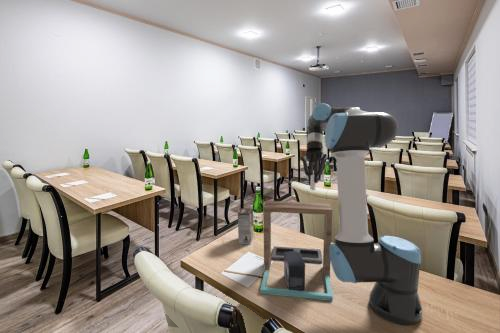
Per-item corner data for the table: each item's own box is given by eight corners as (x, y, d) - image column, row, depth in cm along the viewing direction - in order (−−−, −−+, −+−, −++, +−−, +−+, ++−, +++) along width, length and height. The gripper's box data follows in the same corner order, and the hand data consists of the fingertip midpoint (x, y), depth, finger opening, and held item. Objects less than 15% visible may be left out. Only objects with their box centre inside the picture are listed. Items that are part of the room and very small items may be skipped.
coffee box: (242, 236, 144) (241, 207, 141) (254, 237, 143) (253, 208, 140) (238, 243, 135) (237, 213, 132) (250, 244, 134) (250, 214, 131)
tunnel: (329, 278, 105) (332, 209, 100) (264, 272, 109) (263, 206, 105) (327, 267, 112) (330, 203, 108) (266, 262, 117) (265, 200, 112)
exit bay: (332, 300, 92) (332, 296, 91) (260, 293, 96) (260, 289, 96) (328, 278, 104) (328, 275, 104) (265, 273, 109) (265, 269, 108)
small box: (283, 275, 107) (283, 250, 105) (299, 274, 107) (299, 250, 106) (287, 291, 97) (288, 265, 95) (305, 291, 97) (306, 264, 95)
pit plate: (322, 263, 116) (322, 260, 115) (271, 259, 120) (271, 256, 119) (320, 251, 125) (320, 249, 125) (273, 248, 129) (273, 246, 129)
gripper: (330, 145, 130) (329, 191, 121) (305, 149, 137) (302, 192, 128) (325, 138, 124) (324, 185, 115) (299, 142, 132) (296, 187, 122)
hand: (312, 189), depth 122 cm, fingers closed
